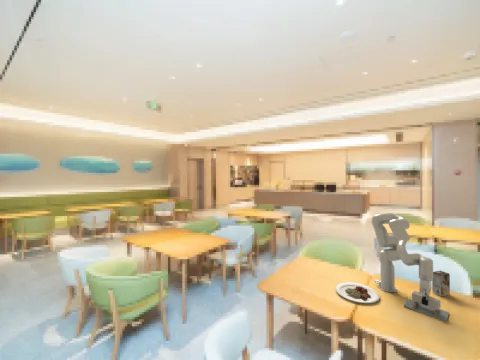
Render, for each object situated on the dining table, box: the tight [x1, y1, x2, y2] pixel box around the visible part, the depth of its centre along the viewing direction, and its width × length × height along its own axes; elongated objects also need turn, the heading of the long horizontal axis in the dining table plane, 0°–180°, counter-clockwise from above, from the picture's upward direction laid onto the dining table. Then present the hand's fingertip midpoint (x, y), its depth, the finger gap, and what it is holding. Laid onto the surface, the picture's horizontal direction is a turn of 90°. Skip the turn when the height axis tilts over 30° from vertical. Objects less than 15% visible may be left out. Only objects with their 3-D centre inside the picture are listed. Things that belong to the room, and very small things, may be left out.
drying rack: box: [403, 298, 450, 323], centre depth 152 cm, size 22×12×3 cm, turn 42°
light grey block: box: [411, 290, 441, 310], centre depth 152 cm, size 14×5×5 cm, turn 33°
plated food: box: [335, 281, 381, 304], centre depth 174 cm, size 30×30×3 cm
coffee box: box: [431, 270, 451, 297], centre depth 172 cm, size 9×6×16 cm
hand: (425, 302), depth 152 cm, fingers closed on light grey block, 5 cm apart
